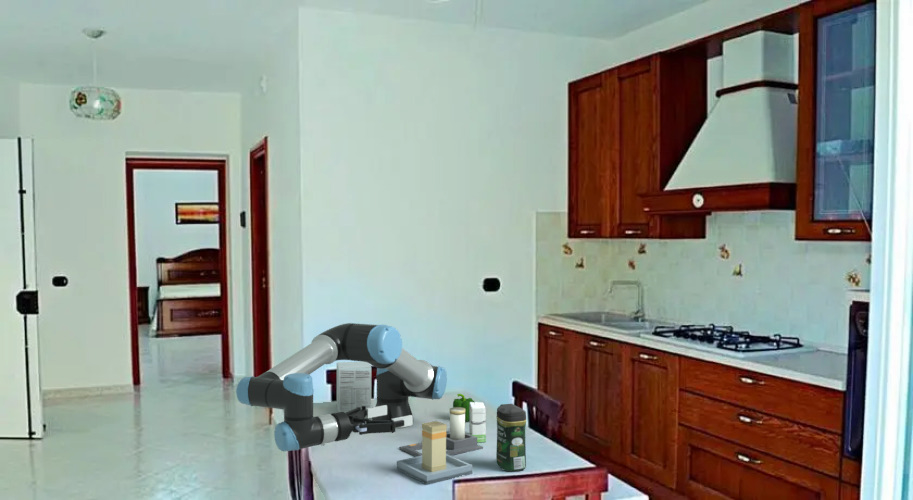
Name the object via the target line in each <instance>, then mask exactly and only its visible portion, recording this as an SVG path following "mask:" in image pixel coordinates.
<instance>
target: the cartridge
mask: <svg viewBox="0 0 913 500" xmlns="http://www.w3.org/2000/svg"><path fill="white" fill-rule="evenodd" d="M449 433H450V439H452V440H460V439H465V433H466V421H465V408H461V407H454V408H453V407H451V408H449Z"/></svg>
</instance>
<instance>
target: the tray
mask: <svg viewBox="0 0 913 500" xmlns="http://www.w3.org/2000/svg"><path fill="white" fill-rule="evenodd" d="M396 471H400V472H401V473H403V474H405V475H407V476H408V477H410V478H413V479H415V480H417V481H418V482H421V483H423V484H425V485H426V486H427V485H432V484H436V483H440V482H444V481H448V480H453V479H456V478H455V477H457V478H460V477H459V476H461V477H463V476H462V475H465V476H468V475H472V474H473V464H471V463H468V462H467V461H464V460H462V459H460V458H456V457H454V456H453V455H452V456H450V455H448V454H446V469H444V470H439V471H435V472H430V471H428V470H426V469H424V468H422V456H417V457H416V456H414V457H409V458H403V459H400V460H396ZM452 478H453V479H452Z"/></svg>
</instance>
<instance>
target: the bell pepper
mask: <svg viewBox="0 0 913 500" xmlns="http://www.w3.org/2000/svg"><path fill="white" fill-rule="evenodd" d="M456 395H457V397H460V398H454V399H453V401H452V408H454V407H461V408H465V422H470V402H475V400H473V398H471V397H468V398H466V397H465V395H464V394H463V393H457V394H456Z"/></svg>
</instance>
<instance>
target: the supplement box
mask: <svg viewBox="0 0 913 500" xmlns="http://www.w3.org/2000/svg"><path fill="white" fill-rule="evenodd" d="M372 367H373V366H372V365H371V364H369V363H368V362H362V361H347V362H345V361H342V362H338V361H337V362H336V409H337V413H338V412H345V413H346V412H348V411H351V410H353V409H356V408H358V407H359V408H361V409H362V406H366V410H367V408H372Z"/></svg>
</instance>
